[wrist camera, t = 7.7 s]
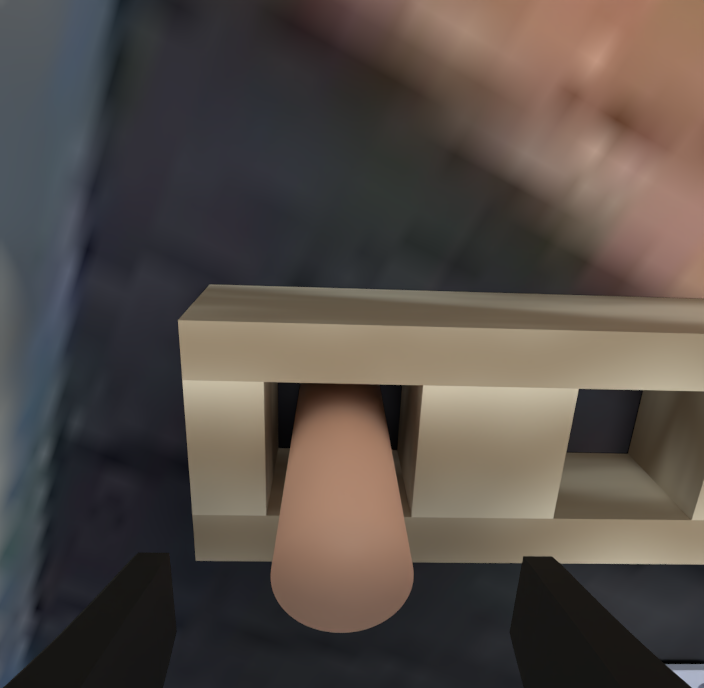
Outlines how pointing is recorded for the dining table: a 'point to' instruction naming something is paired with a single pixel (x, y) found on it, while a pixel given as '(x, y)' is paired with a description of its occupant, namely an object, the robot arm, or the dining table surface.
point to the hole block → (457, 417)
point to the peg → (341, 514)
